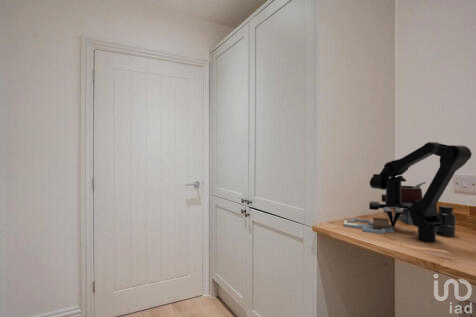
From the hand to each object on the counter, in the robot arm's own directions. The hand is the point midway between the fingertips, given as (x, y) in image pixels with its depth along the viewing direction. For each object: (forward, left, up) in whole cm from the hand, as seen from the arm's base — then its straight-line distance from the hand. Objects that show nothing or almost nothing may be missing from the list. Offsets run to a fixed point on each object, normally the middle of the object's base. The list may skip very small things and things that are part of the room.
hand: (392, 226), depth 118 cm
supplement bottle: (+6, -20, -3) cm, 21 cm away
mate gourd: (+30, -9, -3) cm, 31 cm away
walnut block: (0, +5, -1) cm, 5 cm away
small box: (+18, -11, -3) cm, 21 cm away
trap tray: (0, +9, -2) cm, 10 cm away
